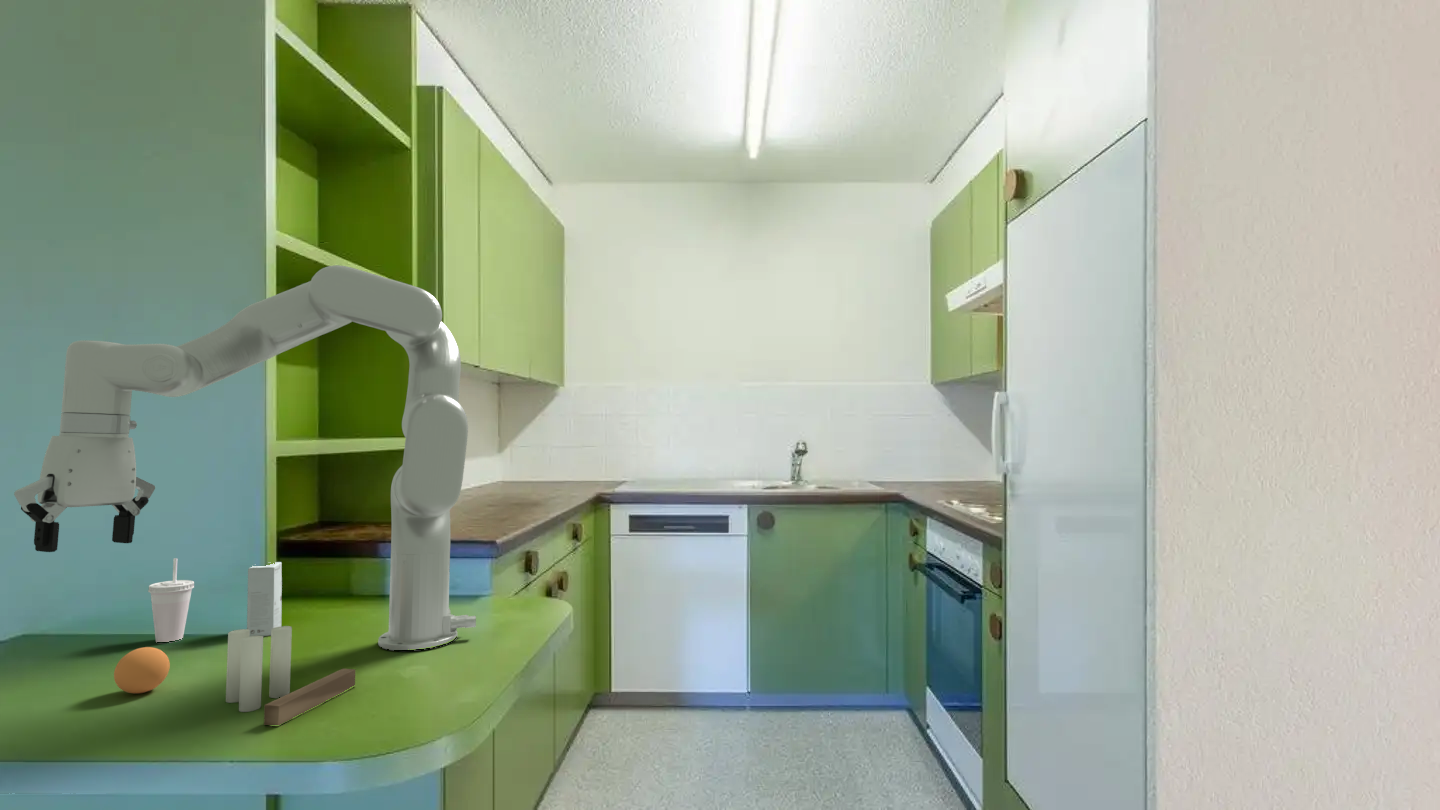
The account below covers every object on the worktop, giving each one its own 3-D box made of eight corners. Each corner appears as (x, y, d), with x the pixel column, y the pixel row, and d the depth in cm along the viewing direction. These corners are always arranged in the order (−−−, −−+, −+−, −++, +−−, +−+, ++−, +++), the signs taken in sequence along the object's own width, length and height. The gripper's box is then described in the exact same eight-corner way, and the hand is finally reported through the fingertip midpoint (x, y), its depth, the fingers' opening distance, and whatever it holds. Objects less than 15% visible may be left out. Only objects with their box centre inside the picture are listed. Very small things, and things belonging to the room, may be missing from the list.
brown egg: (175, 682, 102) (176, 640, 102) (160, 696, 97) (162, 651, 97) (123, 687, 100) (125, 644, 100) (105, 702, 94) (107, 656, 95)
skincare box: (274, 635, 126) (276, 566, 127) (244, 638, 125) (247, 568, 125) (282, 626, 132) (284, 561, 133) (254, 629, 131) (256, 562, 131)
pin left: (262, 703, 94) (265, 634, 95) (258, 710, 92) (261, 639, 93) (241, 706, 93) (243, 636, 94) (236, 712, 91) (239, 641, 92)
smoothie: (166, 646, 120) (170, 562, 120) (135, 644, 121) (139, 560, 121) (201, 636, 126) (204, 556, 126) (171, 633, 127) (175, 554, 128)
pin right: (291, 690, 99) (293, 625, 100) (287, 696, 97) (290, 629, 97) (271, 693, 98) (273, 626, 99) (267, 699, 96) (269, 631, 96)
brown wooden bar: (263, 725, 87) (264, 705, 87) (342, 686, 101) (342, 668, 101) (278, 727, 87) (279, 706, 87) (354, 687, 101) (355, 669, 101)
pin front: (249, 695, 97) (251, 628, 98) (244, 701, 95) (247, 633, 96) (228, 697, 97) (230, 630, 97) (223, 703, 94) (226, 634, 95)
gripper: (138, 428, 112) (130, 538, 111) (3, 424, 95) (-8, 553, 94) (175, 429, 110) (166, 541, 109) (43, 425, 94) (32, 557, 92)
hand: (85, 546), depth 102 cm, fingers open, 9 cm apart
